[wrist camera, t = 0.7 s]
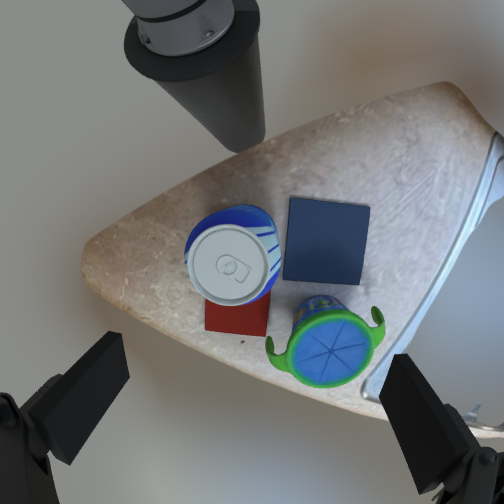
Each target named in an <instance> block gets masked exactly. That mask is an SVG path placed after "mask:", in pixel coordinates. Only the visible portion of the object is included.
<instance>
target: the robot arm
mask: <svg viewBox="0 0 504 504" xmlns="http://www.w3.org/2000/svg"><path fill="white" fill-rule="evenodd" d="M122 1H123V2H124V4H125V5H126V6H127V7H128V8H129V9H130V10H131V11H132V12H133V13H134V15H135V16H136V17H137V22H138V27H139V32H140V35H139V36H140V39H141V41H142V44H143V43H144V44H145V46H146V47H147V48H148V49H149V50H150V51H151V52H153V53H154V54H156V55H159V56H162V57H166V58H183V57H189V56H192V55H196V54H199V53H201V52H204V51H206V50H208V49H210V48H211V47H213V46H214V45H216V44H217V43H219V42H220V41H221V40H222V39H223V38H224V37H225V36H226V35H227V34H228V33H229V31H230V30H231V28H232V26H233V24H234V20H235V11H234V7H233V3H232V1H231V0H122ZM139 32H138V34H139ZM129 378H130V376H129V371H128V366H127V361H126V356H125V351H124V345H123V339H122V334H121V333H116V332H111V331H108V332H107V333H106V334H105V335H104V336H103V337H102V338H101V339H100V340H99V341H98V342H96V343H95V344H94V345H93V346H92V347H91V348H90V349H89V350H88V351H87V352H86V353H85V354H84V355H83V356H82V357H81V358H80V359H79V360H78V361H77V362H76V363H75V364H74V365H73V366H72V367H71V368H70V369H69V370H68V371H67V372H66V373H65V374H64V375H61V374H57V375H55V376H54V377H51V378H50V379H49V380H48V381H47V382H46V383H45V384H44V385H43V386H41V388H40V389H39V390H38V392H37V391H36V392H35V394H33V396H32V397H30V398H29V400H28V401H27V402H26V403H24V405H23V406H22V407H21V408H20V409H19V408H18V406H17V405H16V403H15V401H14V399H13V398H12V396H11V395H10V394H8V393H3V392H1V393H0V504H60V503H59V500H58V496H57V493H56V489H55V485H54V480H53V476H52V472H51V466H50V461H49V457H48V455H47V453H48V452H49V450H50V451H51V452H52V454H53V455H54V456H55V458H56V459H58V460H60V461H62V462H64V463H66V464H68V465H71V463H72V461H73V460H74V459H75V457H76V456H77V454H78V453H79V451H80V450H81V448H82V446H83V445H84V443H85V442H86V440H87V439H88V437H89V436H90V434H91V433H92V432H93V430H94V428H95V427H96V425H97V424H98V423H99V421H100V420H101V418H102V417H103V415H104V414H105V412H106V411H107V409H108V408H109V406H110V405H111V404H112V402H113V401H114V399H115V398H116V396H117V395H118V393H119V392H120V391H121V389H122V388H123V386H124V384H125V383H126V382H127V381H128V379H129ZM379 399H380V401H381V403H382V405H383V408H384V410H385V412H386V414H387V417H388V419H389V421H390V423H391V425H392V428H393V430H394V432H395V435H396V437H397V440H398V442H399V444H400V447H401V449H402V452H403V454H404V457H405V459H406V462H407V464H408V467H409V469H410V472H411V474H412V477H413V480H414V482H415V485H416V487H417V490H418V493H419V495H420V494H423V493H426V492H429V491H432V490H434V489H436V488H437V487H438V486H439V485H440V483H441V482H443V484H444V487H443V488H442V490H440V491H439V492H438V493H437V494H436V495H435V496H434V497H433V499H432V501H434V500H435V499H436V498H437V497H438V496H439V497H438V499H437V502H436V504H504V452H501V453H497V452H496V451H495V450H494V449H492V448H490V447H481V446H480V445H479V443H478V442H477V440H476V438H475V437H474V435H473V434H472V432H471V431H470V429H469V428H468V426H467V425H465V424H466V423H465V422H464V420H463V419H461V418H462V417H461V416H460V414H459V413H458V411H457V410H456V409H455V408H453V407H452V406H451V405H449V404H444V405H443V403H442V402H441V400H440V399H439V397H438V396H437V394H436V393H435V392H434V390H433V389H432V387H431V386H430V384H429V383H428V382H427V380H426V379H425V377H424V376H423V374H422V373H421V372H420V371H419V369H418V368H417V366H416V365H415V363H414V362H413V361H412V359H411V358H410V357H409V355H408V354H394V357H393V360H392V363H391V366H390V368H389V371H388V374H387V377H386V379H385V382H384V385H383V387H382V390H381V392H380V395H379Z"/></svg>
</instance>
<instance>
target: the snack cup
mask: <svg viewBox="0 0 504 504" xmlns="http://www.w3.org/2000/svg"><path fill="white" fill-rule="evenodd" d="M371 314H372V317H373V320H374V322H375V323H376V324H377V325H379V326H378V327H373V328H372V327H369V326H368V324H367V323H366V322H365V321H364V320H363V319H362V318H361V317H359V316H358V315H356V314H355V313H352V312H351V311H350V310H349V309H348V308H346V307H345V306H344V305H343V304H342V303H341V302H340V301H338V300H337V299H335V298H333V297H331V296H328V295H322V296H319V295H318V296H315V297H312V298H310V299H309V300H307V301H305V302H303V303H302V304H301V305H300V307H299V309H298V310H297V312H296V314H295V317H294V323H293V329H292V334H291V336H290V338H289V341H288V344H287V349H286V351H285V352H284V353H282V354H280V355H276V354H275V353H274V344H273V341H272V338H271V337H270V336H268V337H267V338H266V344H265V347H266V352H267V355H268V357H269V360H270V362H271V364H272V365H273V366H274V367H275V368H277V369H279V370H281V371H284V372H289V373H291V374H293V376H294V377H295V378H296V379H297V380H299V381H300V382H301V383H303V384H305V385H307V386H311V387H315V388H333V387H337V386H341V385H343V384H346V383H348V382H350V381H352V380H353V379H355V378H356V377H357V376H359V375H360V374H361V373H362V372H363V371H364V370H365V368H366V367H367V366H368V364H369V363H370V361H371V359H372V356H373V353H374V349H375V348H376V347H377V346H378V345H379V344H380V343H381V341H382V340H383V338H384V335H385V321H384V317H383V315H382V313H381V311H380V310H379V309H378V308H377V307H375V306H373V307H372V309H371Z"/></svg>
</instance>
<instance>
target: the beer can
mask: <svg viewBox="0 0 504 504" xmlns="http://www.w3.org/2000/svg"><path fill="white" fill-rule="evenodd" d="M184 258H185V266H186V270H187V273H188V276H189V278H190V280H191V282H192V284H193V286H194V287H195V288H196V290H197V291H198V292H199V293H200V294H201V295H202V296H203V297H205V298H206V299H208V300H209V301H211V302H214V303H216V304H220V305H225V306H236V305H244V304H248V303H251V302H253V301H255V300H257V299H259V298H261V297H262V296H263V295H265V294H266V293H267V292H268V291H269V290H270V289H271V287H272V286H273V285H274V283H275V281H276V279H277V277H278V274H279V271H280V267H281V251H280V246H279V240H278V235H277V229H276V226H275V224H274V222H273V220H272V218H271V217H270V216H269V215H268V214H267V213H266V212H265V211H264V210H262V209H260V208H259V207H256V206H253V205H248V204H241V205H236V206H233V207H230V208H227V209H224V210H222V211H219V212H216V213H214V214H211V215H209V216H208V217H206V218H204V219H203V220H202V221H201V222H199V223H198V224H197V226H196V227H195V228H194V229H193V231H192V232H191V234H190V236H189V238H188V240H187V243H186V247H185V255H184Z"/></svg>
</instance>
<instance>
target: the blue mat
mask: <svg viewBox="0 0 504 504" xmlns="http://www.w3.org/2000/svg"><path fill="white" fill-rule="evenodd" d="M369 217H370V207H366V206H358V205H351V204H343V203H335V202H327V201H318V200H309V199H299V198H290V210H289V221H288V231H287V242H286V252H285V261H284V271H283V280H292V281H305V282H318V283H332V284H346V285H359V284H360V278H361V273H362V267H363V261H364V254H365V248H366V241H367V233H368V225H369Z"/></svg>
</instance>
